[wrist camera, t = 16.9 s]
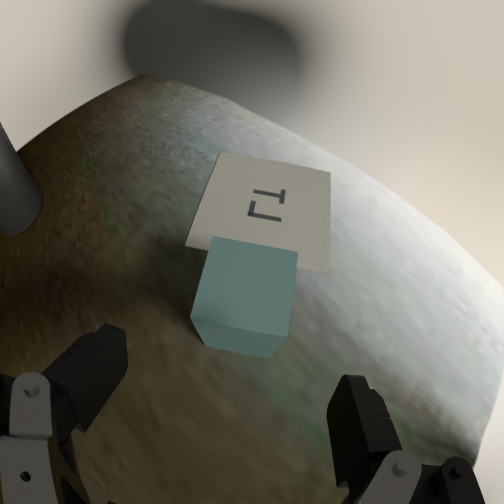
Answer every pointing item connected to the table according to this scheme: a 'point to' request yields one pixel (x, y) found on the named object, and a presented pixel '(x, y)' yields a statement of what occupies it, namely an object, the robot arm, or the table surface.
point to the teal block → (245, 297)
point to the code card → (267, 208)
